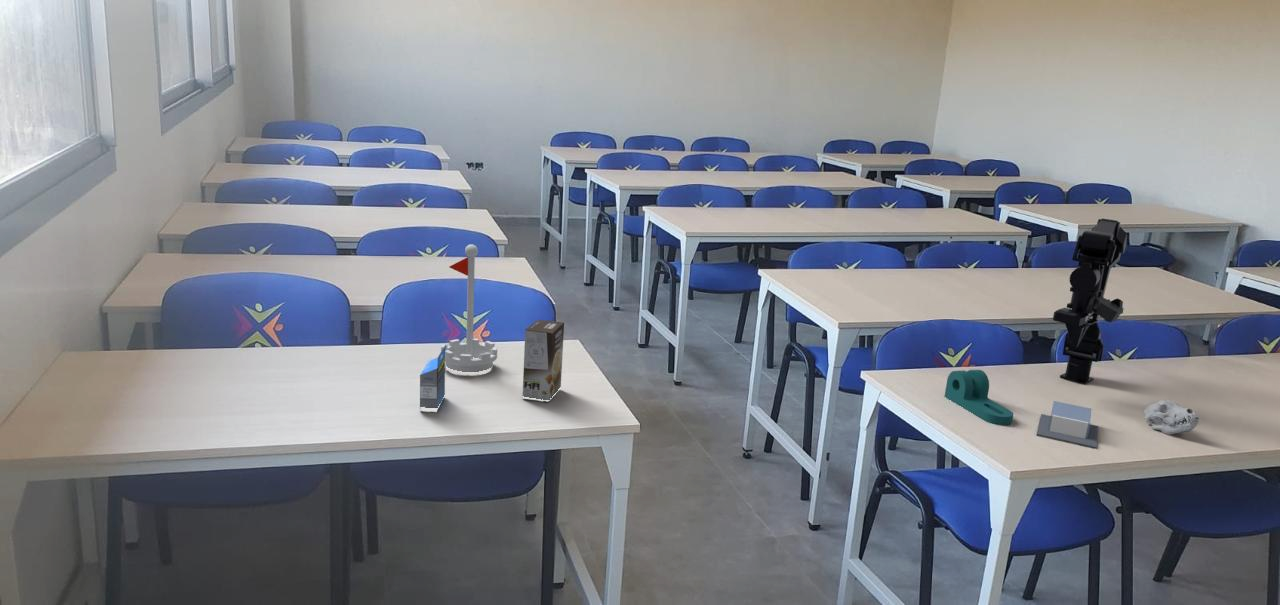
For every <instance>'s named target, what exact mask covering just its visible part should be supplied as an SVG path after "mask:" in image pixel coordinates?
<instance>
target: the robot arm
mask: <svg viewBox="0 0 1280 605" xmlns="http://www.w3.org/2000/svg"><path fill="white" fill-rule="evenodd" d="M1077 238H1078V239H1077V241H1076V245H1075V248H1074V251H1073V252H1074V253H1073V255H1072V258H1071V261H1073V262H1078V264H1077V267H1076V268H1075V269H1074V270H1073V271H1072V272H1071V274H1070V275H1069V283H1070V288H1069V292H1072V293H1071V299H1070V302H1069V303H1067V304H1066V307H1062V308H1059V309H1057V310H1055V311H1054V312H1053V314H1052V315H1053V316H1052V320H1053V321H1054V322H1058V323H1062V324H1064V325H1065V327H1066V330H1067V332H1066V334H1065V338H1064V343H1063V348H1062V355H1063V356H1068V359H1067V364H1066V368H1065V369H1066V370H1065V372H1064V373H1062V374H1060V375H1059V378H1061V379H1064V380H1069V381H1071V382H1075V383H1078V384H1081V385H1086V384H1088V383H1090V382H1093V381H1094V379H1095V378H1094V377H1091V376H1090V375H1091V370H1092V366H1093V362H1095V363H1098V362H1101V361H1103V360H1102V359H1103V354H1104V346H1105V345H1104V344H1103V339H1101V336H1102V334H1101V333H1102V332H1101V330H1100V327H1099V324H1098V322H1099V321H1098V320H1099V317H1100V318H1102V319H1103V321H1106V322H1107V323H1113V322H1116V321H1117V320H1118V319H1119V318H1120V315H1122V314H1123V313H1124V309H1125V307H1124V306H1123V305H1124V301H1123V300H1122V299H1120V298H1115V299H1113V300H1110V299H1107V298H1105V297H1104V296H1105V291H1106V288H1107V285H1108V282H1109V281H1108V280H1109V275H1110V271H1111V269H1112V268H1113V267H1114V266H1115V265H1117V263H1118V262H1120V260H1121V259H1120V258H1121V255H1122V254H1124V253H1125V251H1126V247H1127V242H1128V241H1127V239H1128V233H1127V232H1126V231H1125V230H1124V229H1123V228H1122V227H1121V221H1118V220H1114V219H1109V218H1098V220H1097V223H1096V225H1095V226H1093V227H1092V228H1091V230H1085V231H1083V232H1082V234H1080V235H1079V236H1078V237H1077Z"/></svg>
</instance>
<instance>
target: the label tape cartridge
mask: <svg viewBox="0 0 1280 605" xmlns="http://www.w3.org/2000/svg"><path fill="white" fill-rule="evenodd" d="M444 344H445V346H444V348H443V350H442V351H441V350H440V353H439V355H438V356H437V357H435V358H433V359H430V360H428V361H427V363H426V364H425V366H424V368H423V370H422V372H421V373H420V375H419V408H420V407H425V408H438V406H439V404H440V403H441V401H442V399H443V397H444V395H445V396H446V362H445V351H446V344H447V343H444ZM442 354H443V356H442Z"/></svg>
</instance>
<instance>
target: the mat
mask: <svg viewBox="0 0 1280 605" xmlns="http://www.w3.org/2000/svg"><path fill="white" fill-rule="evenodd" d="M1050 416H1051V415H1048V414H1043V413H1041V414H1040V418H1039V422H1038V425H1037V430H1036V437H1042V438H1046V439H1050V440H1054V441H1060V442H1064V443H1069V444H1073V445H1078V446H1083V447H1087V448H1091V449H1095V450H1096V449H1097V445H1098V443H1097V442H1098V430H1099V427H1098V425H1094V424H1091V423H1090V427H1089V432H1088V437H1087V439H1086V438H1080V437H1075V436H1071V435H1066V434H1062V433H1057V432H1052V431H1050V430H1048V426H1049V421H1050Z"/></svg>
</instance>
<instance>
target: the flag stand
mask: <svg viewBox="0 0 1280 605" xmlns="http://www.w3.org/2000/svg"><path fill="white" fill-rule="evenodd" d="M464 253H465V256H467V257H464V258H463V259H461V260H460V261H457V262H455V263H454V264H453V263H452V264H451V265H450V266H448V268H450V269H452V270H454V271H456V272H458V273H460V274H462V275H465V276H467V289H466V290H467V293H466V294H467V297H466V342H461V341H460V339H458V338H456V339H451V340H449V341H448V344H447V343H442V344H441V348H440V349H441V350H440V352H441V351H442V350H443V348H444V346H445V344H446V351H445V367H446V366H447V367H448V368H450V369H453V370H457V371H462V372H479V371H483V370H487V369H489V368H491V367H492V365H494V362H495V361H496V360H497V359H498V346H495V344H496V343H494V342H492V341H489V340H486V341H484V343H479V342H480V340H479V338H474V317H475V316H474V310H475V309H474V307H475V306H474V305H475V303H474V302H475V264H476V263H475V262H476V261H475V259H476V258H475V257H476V256H477V255H478V253H479V249H478V247H477V245H475V244H468V245H466V247H465V249H464ZM460 342H461V343H460ZM442 356H443V354H442ZM473 357H474V358H479V359H473Z"/></svg>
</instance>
